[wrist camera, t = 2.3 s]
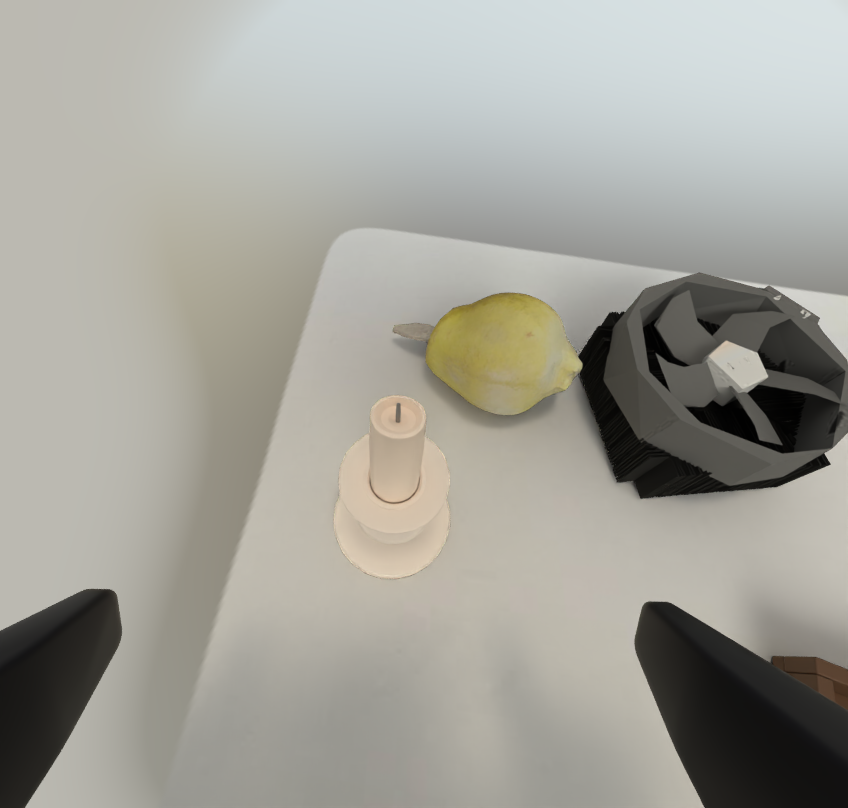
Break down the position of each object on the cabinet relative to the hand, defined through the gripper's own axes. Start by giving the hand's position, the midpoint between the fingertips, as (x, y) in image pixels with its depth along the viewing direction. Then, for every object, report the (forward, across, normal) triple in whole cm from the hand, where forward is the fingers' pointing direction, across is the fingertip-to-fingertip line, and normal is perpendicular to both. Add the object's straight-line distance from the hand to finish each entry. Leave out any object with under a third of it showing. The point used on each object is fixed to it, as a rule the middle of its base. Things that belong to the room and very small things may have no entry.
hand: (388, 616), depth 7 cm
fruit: (+17, -4, -1) cm, 18 cm away
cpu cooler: (+16, -15, 0) cm, 22 cm away
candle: (+11, 0, +5) cm, 12 cm away
